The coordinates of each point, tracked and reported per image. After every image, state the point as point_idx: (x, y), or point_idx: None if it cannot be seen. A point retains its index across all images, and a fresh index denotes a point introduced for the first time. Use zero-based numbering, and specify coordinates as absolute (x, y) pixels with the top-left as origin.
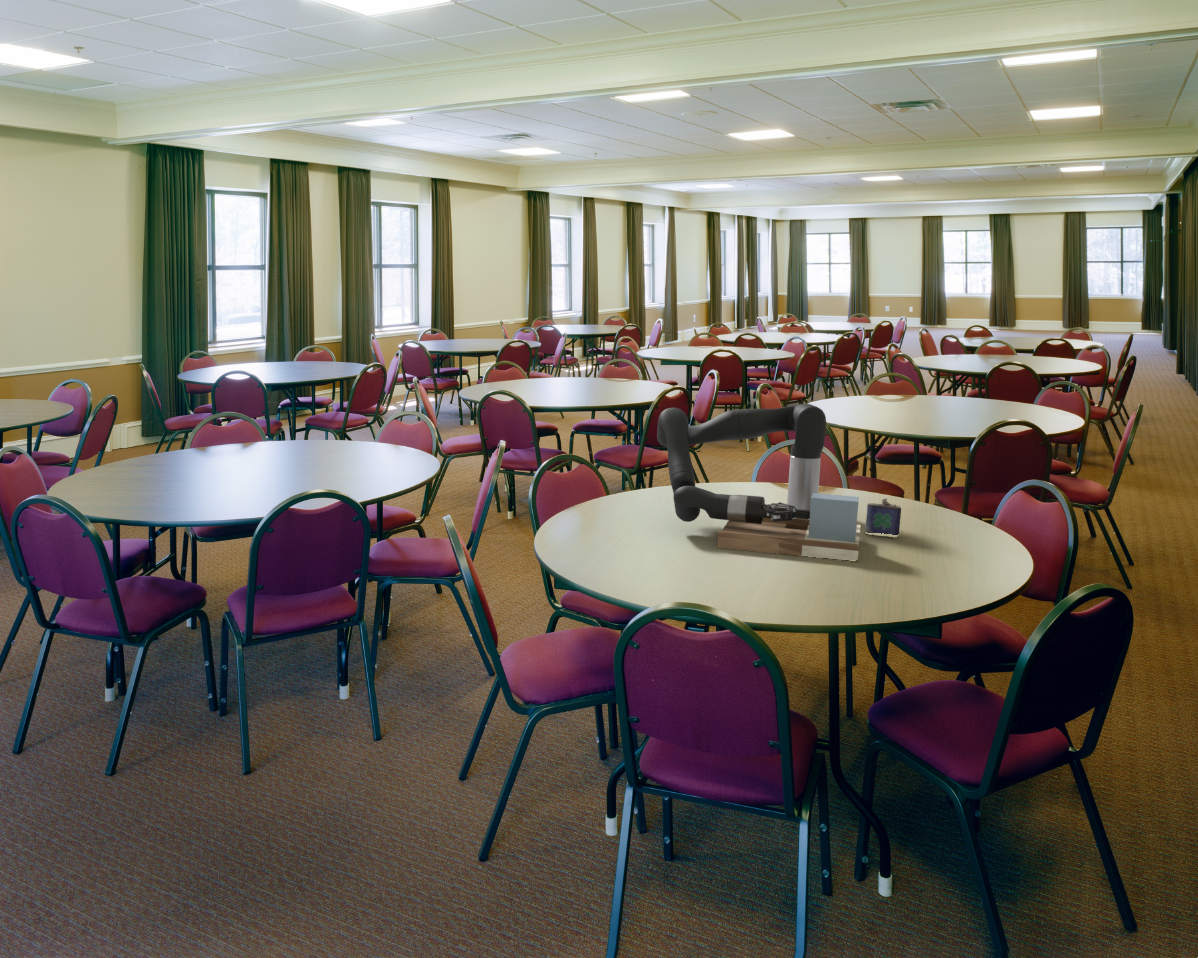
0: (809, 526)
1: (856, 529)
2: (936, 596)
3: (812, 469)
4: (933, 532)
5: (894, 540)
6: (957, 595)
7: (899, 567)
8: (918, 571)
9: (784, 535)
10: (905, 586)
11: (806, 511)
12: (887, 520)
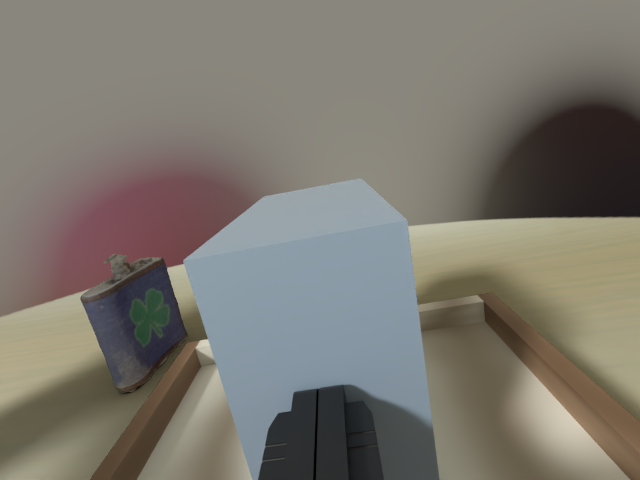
0: (435, 456)
1: None
2: (598, 236)
3: None
4: None
5: None
6: (551, 230)
7: (452, 290)
8: (454, 271)
9: None
10: (598, 261)
11: (343, 407)
12: (157, 306)
